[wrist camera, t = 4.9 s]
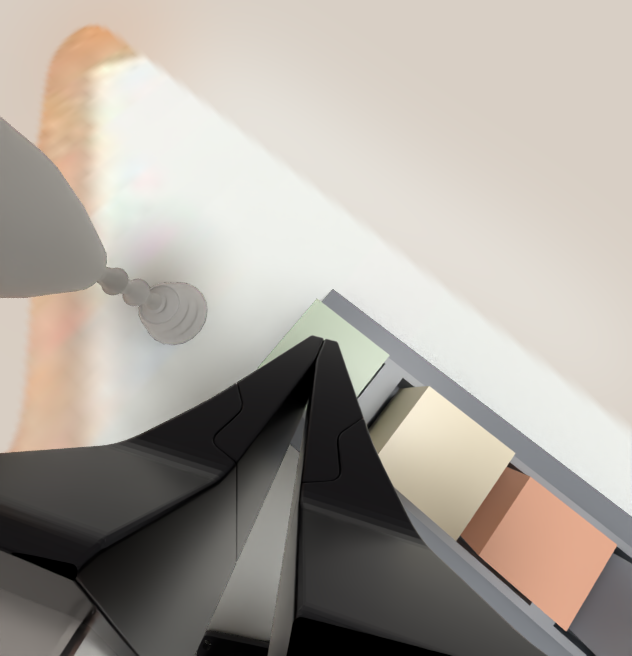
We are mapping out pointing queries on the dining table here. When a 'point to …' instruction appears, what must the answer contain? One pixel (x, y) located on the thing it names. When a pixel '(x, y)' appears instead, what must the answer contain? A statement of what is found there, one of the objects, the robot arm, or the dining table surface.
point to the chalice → (72, 246)
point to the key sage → (354, 345)
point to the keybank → (529, 459)
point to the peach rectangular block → (538, 545)
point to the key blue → (608, 611)
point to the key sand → (438, 456)
